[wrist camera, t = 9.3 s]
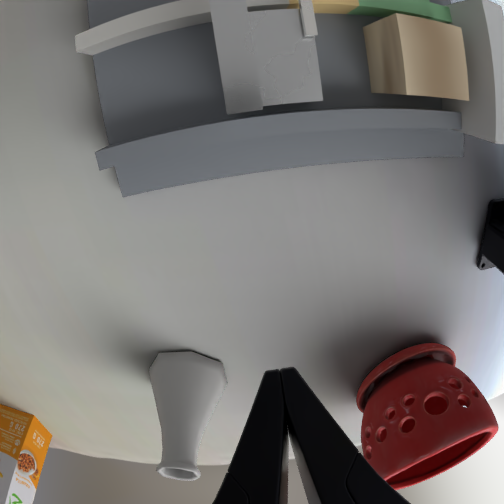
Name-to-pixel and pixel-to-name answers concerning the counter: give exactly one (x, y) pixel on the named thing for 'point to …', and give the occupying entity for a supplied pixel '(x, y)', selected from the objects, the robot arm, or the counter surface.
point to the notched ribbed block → (266, 55)
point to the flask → (184, 407)
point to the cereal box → (20, 455)
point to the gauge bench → (282, 115)
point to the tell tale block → (416, 57)
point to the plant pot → (421, 415)
